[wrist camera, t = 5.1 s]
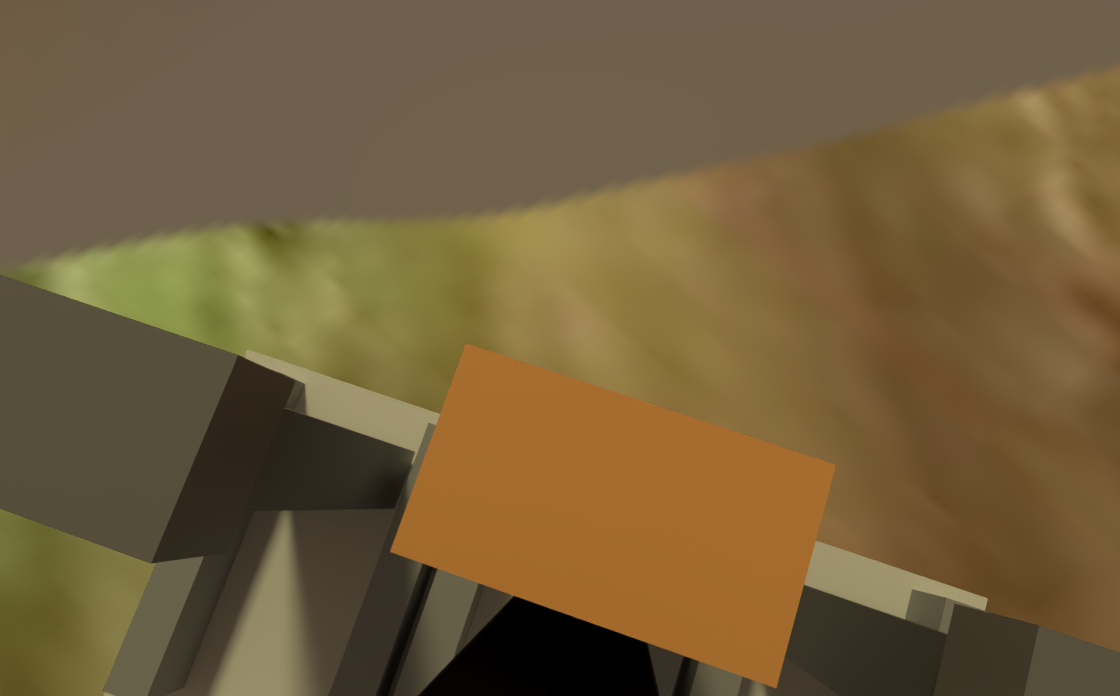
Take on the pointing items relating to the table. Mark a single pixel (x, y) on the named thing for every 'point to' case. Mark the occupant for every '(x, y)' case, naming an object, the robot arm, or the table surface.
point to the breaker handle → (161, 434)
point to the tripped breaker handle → (618, 513)
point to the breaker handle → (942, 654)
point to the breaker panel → (393, 594)
